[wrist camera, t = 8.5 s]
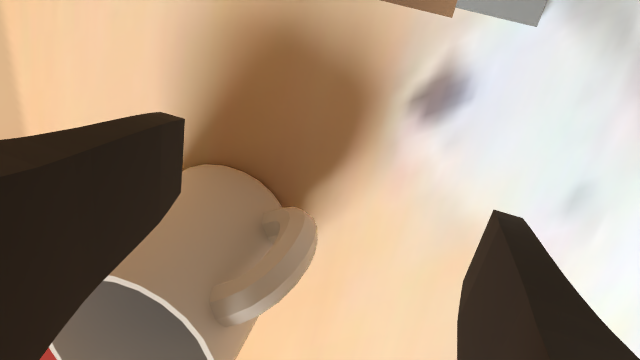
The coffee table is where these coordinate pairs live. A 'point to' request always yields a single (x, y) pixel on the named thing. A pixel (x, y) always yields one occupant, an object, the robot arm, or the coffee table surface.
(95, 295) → the cup
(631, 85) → the coffee table surface
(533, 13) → the stand
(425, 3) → the case
